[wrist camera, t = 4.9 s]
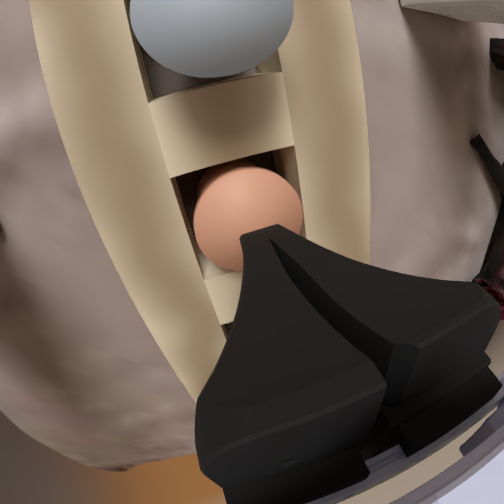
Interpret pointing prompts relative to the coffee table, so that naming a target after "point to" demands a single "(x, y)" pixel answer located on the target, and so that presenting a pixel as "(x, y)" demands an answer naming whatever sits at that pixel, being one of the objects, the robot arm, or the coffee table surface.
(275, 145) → the button board
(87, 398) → the coffee table surface
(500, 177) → the flower arrangement
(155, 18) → the knob
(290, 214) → the plunger terracotta
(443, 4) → the small box
